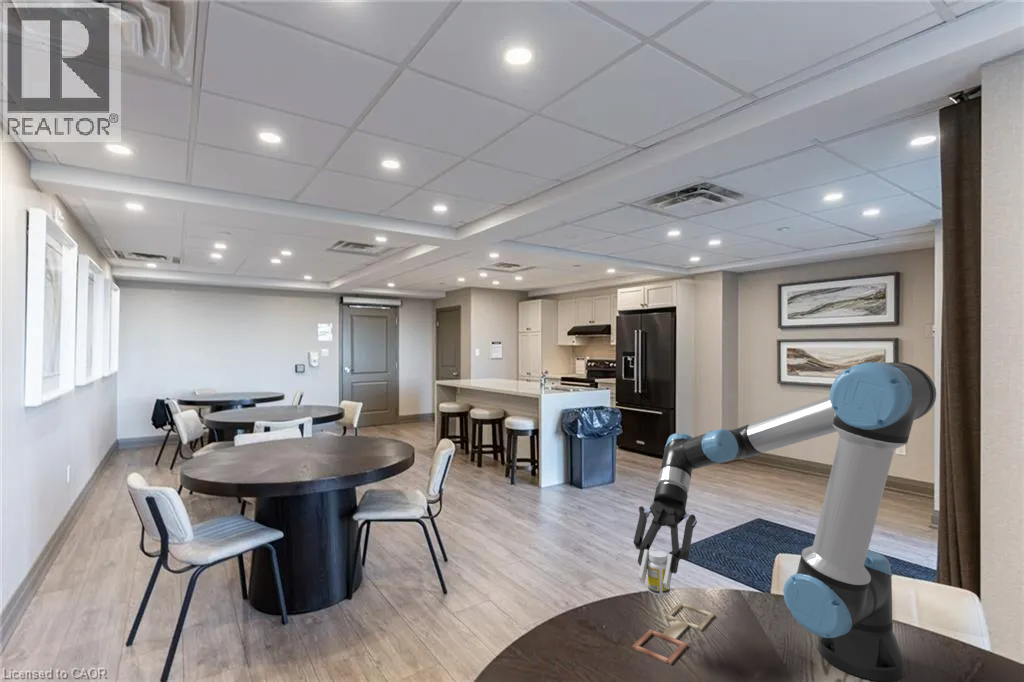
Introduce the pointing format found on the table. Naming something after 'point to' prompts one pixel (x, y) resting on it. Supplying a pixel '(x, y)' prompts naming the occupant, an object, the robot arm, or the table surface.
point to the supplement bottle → (657, 572)
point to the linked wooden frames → (673, 633)
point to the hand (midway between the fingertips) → (653, 582)
